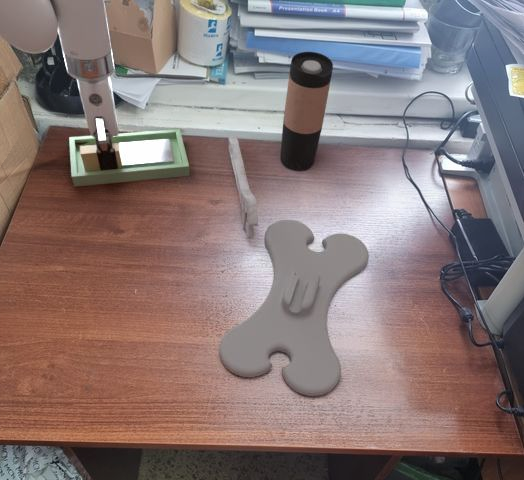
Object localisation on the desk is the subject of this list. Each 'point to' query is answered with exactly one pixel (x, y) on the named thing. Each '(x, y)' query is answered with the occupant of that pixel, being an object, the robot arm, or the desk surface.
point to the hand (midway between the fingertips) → (107, 152)
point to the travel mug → (305, 109)
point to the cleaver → (131, 154)
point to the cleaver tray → (130, 174)
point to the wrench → (243, 189)
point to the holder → (296, 309)
